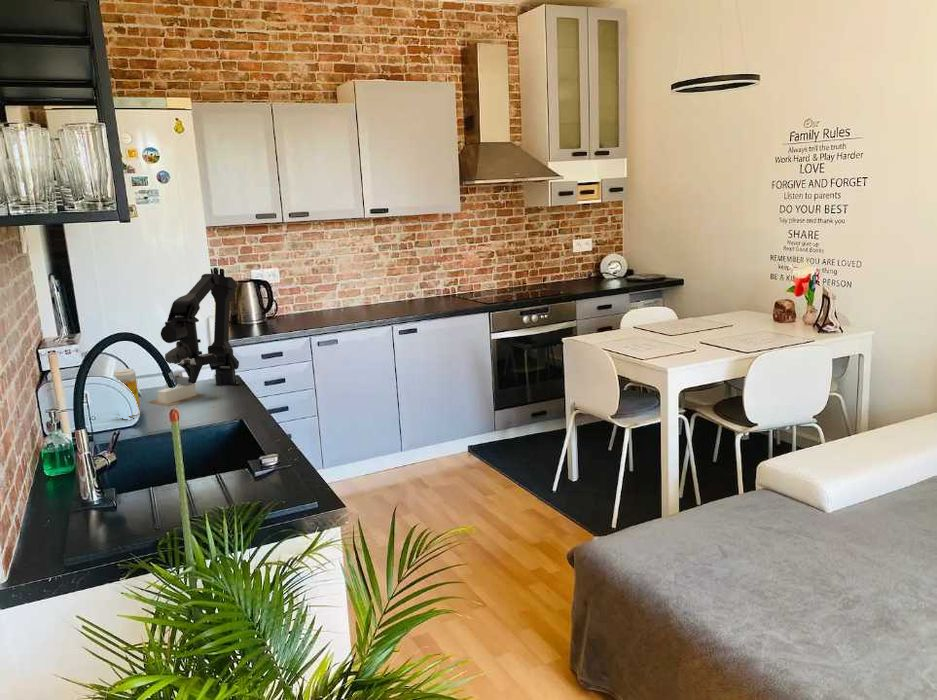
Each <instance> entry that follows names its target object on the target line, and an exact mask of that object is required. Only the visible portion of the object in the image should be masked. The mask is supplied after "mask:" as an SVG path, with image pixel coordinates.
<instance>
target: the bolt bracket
mask: <svg viewBox="0 0 937 700" xmlns="http://www.w3.org/2000/svg"><path fill="white" fill-rule="evenodd" d="M172 373H173V375H174V376H182V377H184V376H183V372H182V371H176V372H172ZM177 385H181V384H176V386H177ZM167 388H169V387H168V385H167V383H166V382H165V389H167Z"/></svg>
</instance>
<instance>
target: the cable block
mask: <svg viewBox="0 0 937 700" xmlns="http://www.w3.org/2000/svg"><path fill="white" fill-rule="evenodd" d="M176 386H177V385H176ZM156 393H157V399H158V400H159V403H163V404H169V403H172V402H175V401H179V400H182V399H186V398H189V397H192V396H196V394H197V388H196V383H194V384H191V385H183V384H181V385H178V386H177V387H176V388H175V389H171V388H164V389H159V390H157V391H156Z"/></svg>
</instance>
